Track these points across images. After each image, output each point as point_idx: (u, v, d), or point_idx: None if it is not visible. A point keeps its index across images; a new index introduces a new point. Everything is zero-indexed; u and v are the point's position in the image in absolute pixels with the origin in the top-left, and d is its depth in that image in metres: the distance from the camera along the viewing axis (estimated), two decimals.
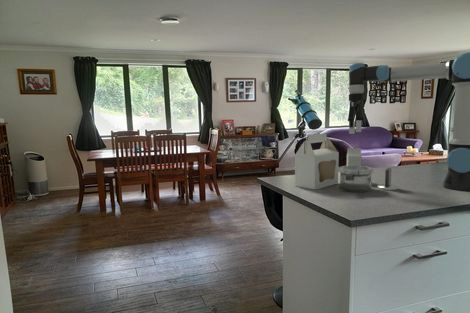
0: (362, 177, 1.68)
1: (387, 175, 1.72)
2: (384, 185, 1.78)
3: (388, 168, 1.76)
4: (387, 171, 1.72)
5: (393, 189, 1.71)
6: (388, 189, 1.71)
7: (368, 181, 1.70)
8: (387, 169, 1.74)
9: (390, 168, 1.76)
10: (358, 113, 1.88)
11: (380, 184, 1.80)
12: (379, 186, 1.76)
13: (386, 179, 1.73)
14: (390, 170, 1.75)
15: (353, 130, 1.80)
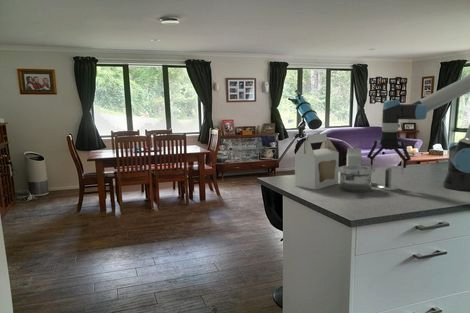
0: (362, 177, 1.68)
1: (387, 175, 1.72)
2: (384, 185, 1.78)
3: (388, 168, 1.76)
4: (387, 171, 1.72)
5: (393, 189, 1.71)
6: (388, 189, 1.71)
7: (368, 181, 1.70)
8: (387, 169, 1.74)
9: (390, 168, 1.76)
10: None
11: (380, 184, 1.80)
12: (379, 186, 1.76)
13: (386, 179, 1.73)
14: (390, 170, 1.75)
15: None
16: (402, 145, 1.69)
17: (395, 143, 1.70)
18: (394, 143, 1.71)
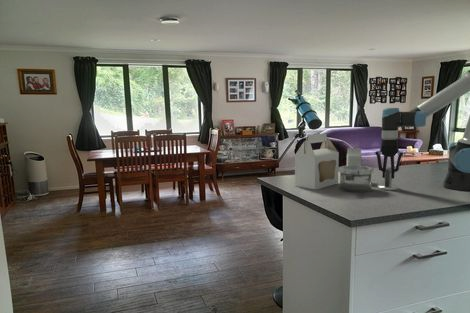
0: (362, 177, 1.68)
1: (387, 175, 1.72)
2: (384, 185, 1.78)
3: (388, 168, 1.76)
4: (387, 171, 1.72)
5: (393, 189, 1.71)
6: (388, 189, 1.71)
7: (368, 181, 1.70)
8: (387, 169, 1.73)
9: (390, 168, 1.76)
10: None
11: (380, 184, 1.80)
12: (379, 186, 1.76)
13: (386, 179, 1.73)
14: (390, 170, 1.75)
15: None
16: (399, 156, 1.70)
17: (395, 150, 1.71)
18: (394, 150, 1.71)
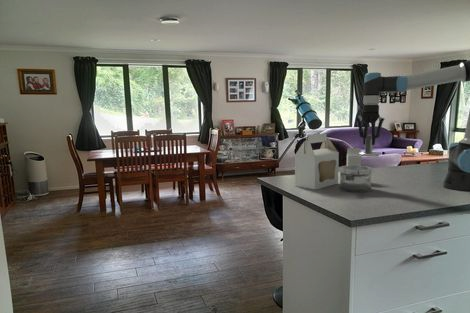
0: (362, 177, 1.68)
1: (368, 141, 1.70)
2: (365, 152, 1.76)
3: None
4: (368, 137, 1.70)
5: (373, 155, 1.69)
6: (368, 155, 1.70)
7: (368, 181, 1.70)
8: (368, 135, 1.72)
9: (371, 135, 1.74)
10: None
11: None
12: (360, 152, 1.74)
13: (366, 145, 1.71)
14: (371, 136, 1.73)
15: (365, 148, 1.74)
16: (380, 121, 1.68)
17: (376, 116, 1.69)
18: (375, 115, 1.69)
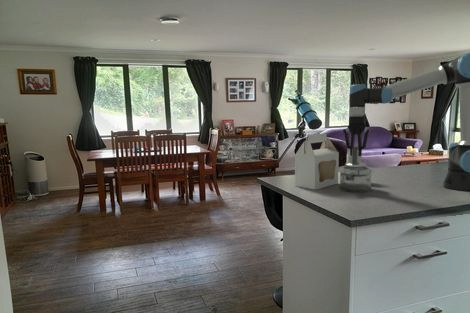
0: (362, 177, 1.68)
1: (354, 152, 1.71)
2: (352, 163, 1.77)
3: None
4: (354, 148, 1.71)
5: (360, 166, 1.70)
6: (355, 166, 1.70)
7: (368, 181, 1.70)
8: (354, 146, 1.72)
9: None
10: None
11: None
12: (347, 163, 1.75)
13: (353, 156, 1.72)
14: None
15: None
16: (366, 133, 1.69)
17: (362, 127, 1.70)
18: (361, 127, 1.70)
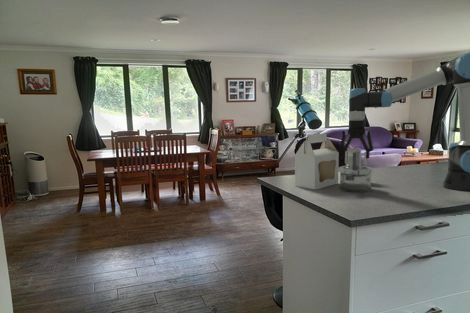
0: (362, 177, 1.68)
1: (354, 158, 1.71)
2: None
3: (356, 151, 1.75)
4: (354, 154, 1.71)
5: None
6: None
7: (368, 181, 1.70)
8: (354, 152, 1.73)
9: (358, 151, 1.75)
10: None
11: (349, 168, 1.80)
12: None
13: (353, 162, 1.72)
14: (358, 153, 1.74)
15: None
16: (368, 135, 1.69)
17: (362, 131, 1.70)
18: (361, 131, 1.70)
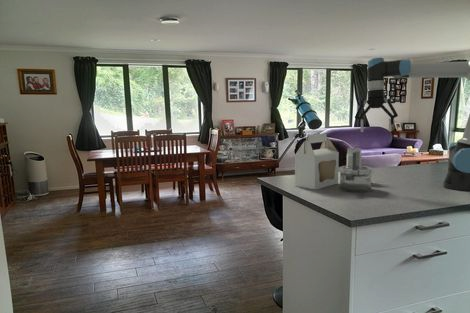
0: (362, 177, 1.68)
1: (354, 158, 1.71)
2: None
3: (356, 151, 1.75)
4: (354, 154, 1.71)
5: None
6: None
7: (368, 181, 1.70)
8: (354, 152, 1.73)
9: (358, 151, 1.75)
10: None
11: (349, 168, 1.80)
12: None
13: (353, 162, 1.72)
14: (358, 153, 1.74)
15: (361, 128, 1.78)
16: (388, 102, 1.69)
17: (381, 101, 1.71)
18: (380, 101, 1.71)
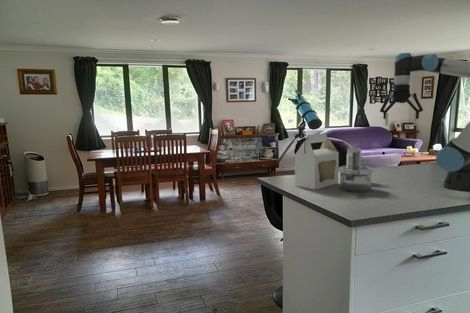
0: (362, 177, 1.68)
1: (354, 158, 1.71)
2: None
3: (356, 151, 1.75)
4: (354, 154, 1.71)
5: None
6: None
7: (368, 181, 1.70)
8: (354, 152, 1.73)
9: (358, 151, 1.75)
10: (410, 105, 1.76)
11: (349, 168, 1.80)
12: None
13: (353, 162, 1.72)
14: (358, 153, 1.74)
15: None
16: (414, 96, 1.74)
17: (407, 95, 1.76)
18: (406, 95, 1.76)
